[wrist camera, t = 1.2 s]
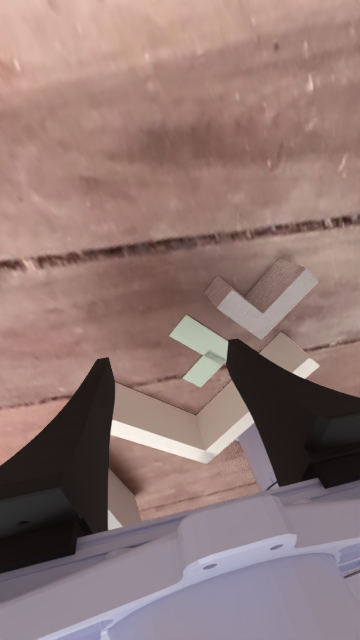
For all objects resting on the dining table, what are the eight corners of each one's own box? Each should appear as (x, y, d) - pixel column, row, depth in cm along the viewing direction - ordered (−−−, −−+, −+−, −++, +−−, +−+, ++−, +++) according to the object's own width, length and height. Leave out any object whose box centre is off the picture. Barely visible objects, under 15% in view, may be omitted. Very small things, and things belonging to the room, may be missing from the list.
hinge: (50, 455, 30) (49, 540, 22) (84, 433, 31) (95, 505, 23) (107, 506, 38) (122, 580, 30) (132, 486, 40) (153, 553, 31)
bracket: (253, 231, 20) (276, 238, 17) (291, 269, 23) (319, 281, 19) (204, 291, 22) (216, 308, 19) (244, 320, 25) (261, 339, 21)
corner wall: (291, 339, 27) (320, 365, 23) (197, 428, 32) (206, 463, 28) (190, 261, 21) (204, 278, 16) (94, 388, 26) (85, 426, 21)
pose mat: (237, 347, 26) (238, 348, 26) (200, 386, 28) (200, 387, 28) (185, 314, 23) (186, 314, 23) (147, 360, 25) (147, 361, 25)
